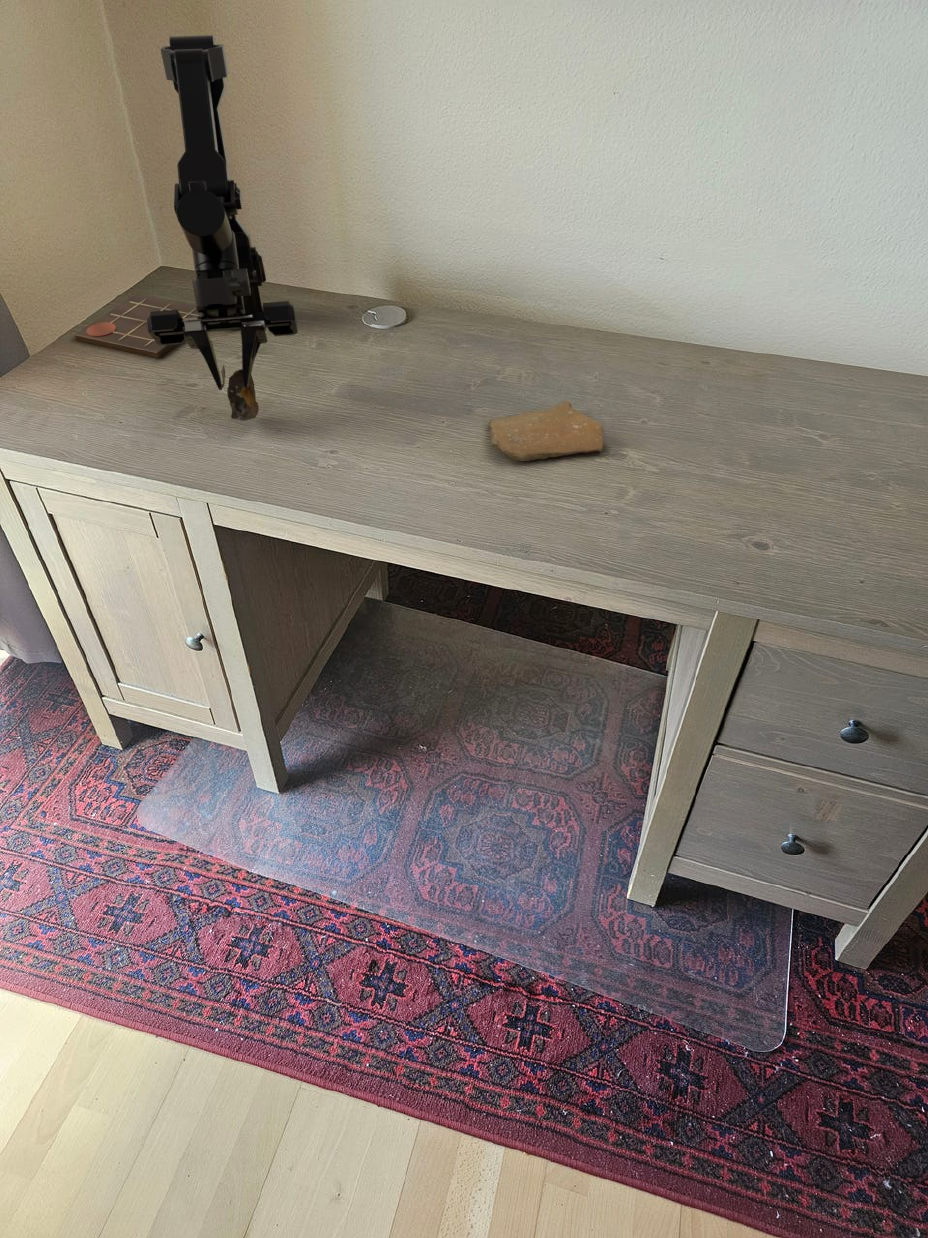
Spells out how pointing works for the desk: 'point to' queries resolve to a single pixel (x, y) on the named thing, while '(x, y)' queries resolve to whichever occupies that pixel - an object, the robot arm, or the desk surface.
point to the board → (132, 326)
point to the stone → (546, 433)
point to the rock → (241, 396)
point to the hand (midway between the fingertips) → (233, 388)
